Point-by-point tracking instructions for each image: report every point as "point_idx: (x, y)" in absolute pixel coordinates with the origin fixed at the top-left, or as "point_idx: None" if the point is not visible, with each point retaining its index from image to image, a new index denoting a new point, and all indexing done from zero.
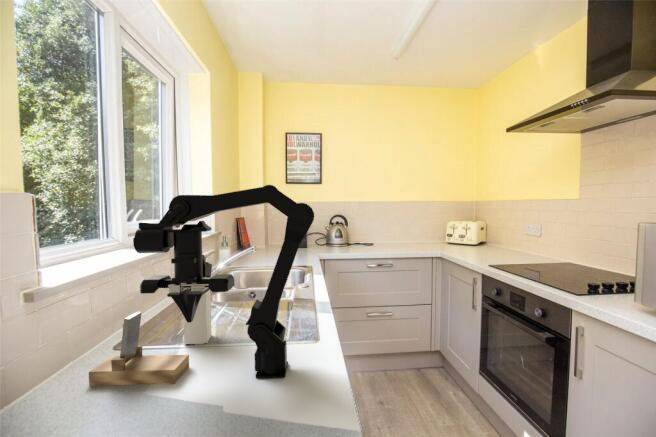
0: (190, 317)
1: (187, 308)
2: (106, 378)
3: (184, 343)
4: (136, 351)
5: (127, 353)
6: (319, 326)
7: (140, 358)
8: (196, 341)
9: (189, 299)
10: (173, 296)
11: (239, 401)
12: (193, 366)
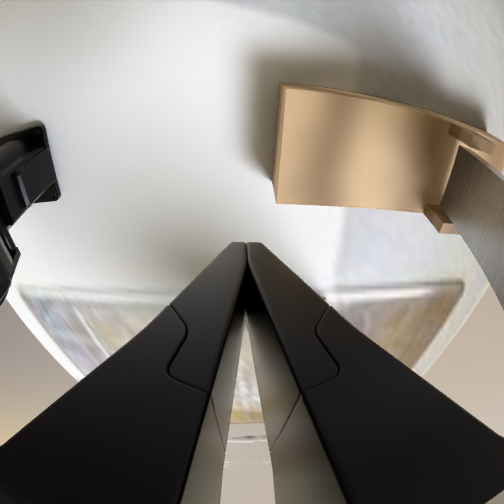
0: (222, 257)
1: (261, 340)
2: (471, 127)
3: (327, 302)
4: (445, 209)
5: (471, 170)
6: (52, 341)
7: (425, 195)
8: None
9: (133, 443)
10: (483, 466)
11: (51, 21)
12: (259, 186)
